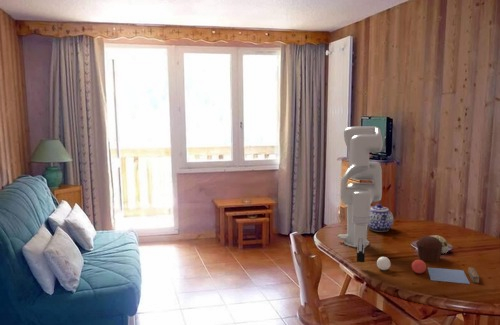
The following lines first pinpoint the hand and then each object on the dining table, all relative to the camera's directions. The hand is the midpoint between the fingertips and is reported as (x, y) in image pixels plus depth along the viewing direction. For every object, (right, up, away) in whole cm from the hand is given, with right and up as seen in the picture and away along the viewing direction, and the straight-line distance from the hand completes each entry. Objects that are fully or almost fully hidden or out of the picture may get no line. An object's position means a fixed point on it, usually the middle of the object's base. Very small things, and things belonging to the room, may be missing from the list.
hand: (360, 261), depth 179 cm
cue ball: (+9, 0, -2) cm, 9 cm away
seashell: (+42, 0, +22) cm, 47 cm away
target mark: (+33, -4, -9) cm, 35 cm away
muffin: (+34, -1, +11) cm, 36 cm away
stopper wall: (+42, -4, -12) cm, 44 cm away
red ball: (+23, -1, -6) cm, 23 cm away
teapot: (+26, +4, +58) cm, 64 cm away
